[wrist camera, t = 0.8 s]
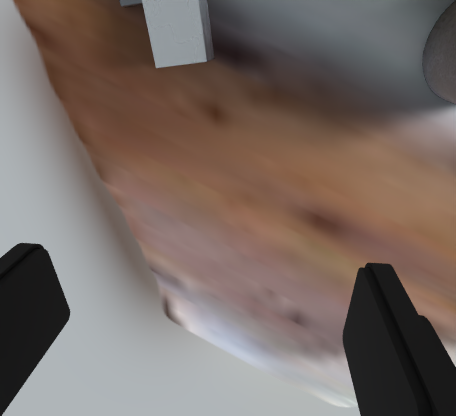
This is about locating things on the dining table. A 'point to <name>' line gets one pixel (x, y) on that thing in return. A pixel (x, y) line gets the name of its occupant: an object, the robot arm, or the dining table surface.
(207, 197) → the dining table surface
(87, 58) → the dining table surface
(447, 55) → the pillar candle
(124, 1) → the collar rail
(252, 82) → the dining table surface
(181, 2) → the white post with dot
